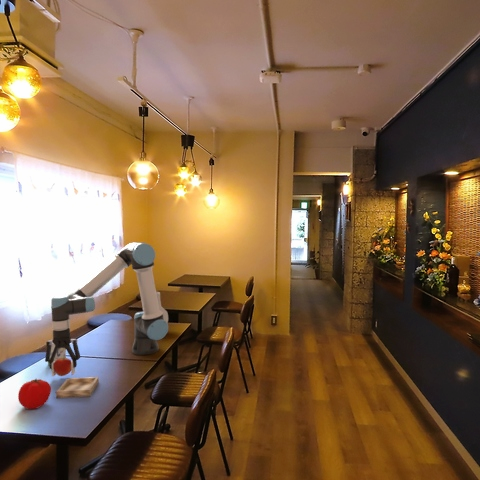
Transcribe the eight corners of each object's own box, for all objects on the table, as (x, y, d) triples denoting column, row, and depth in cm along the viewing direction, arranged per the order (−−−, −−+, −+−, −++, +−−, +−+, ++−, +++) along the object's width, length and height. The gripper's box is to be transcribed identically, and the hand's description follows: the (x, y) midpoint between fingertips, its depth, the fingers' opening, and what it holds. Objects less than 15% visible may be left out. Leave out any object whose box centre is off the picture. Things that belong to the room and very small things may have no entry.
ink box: (58, 359, 211) (57, 338, 211) (66, 359, 210) (65, 338, 210) (47, 365, 203) (46, 343, 202) (56, 365, 202) (55, 343, 201)
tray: (98, 383, 179) (98, 376, 178) (89, 396, 165) (89, 389, 165) (67, 384, 177) (67, 378, 177) (56, 398, 163) (55, 391, 163)
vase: (165, 337, 249) (164, 295, 248) (140, 337, 250) (139, 295, 248) (170, 330, 266) (169, 290, 265) (147, 330, 266) (146, 290, 265)
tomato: (16, 415, 149) (15, 387, 149) (20, 403, 160) (19, 376, 159) (50, 409, 154) (49, 382, 153) (52, 397, 164) (51, 372, 164)
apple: (51, 375, 185) (50, 355, 184) (68, 370, 191) (67, 350, 190) (58, 380, 179) (57, 359, 179) (75, 374, 185) (74, 354, 185)
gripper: (86, 325, 188) (88, 370, 190) (41, 327, 186) (44, 372, 188) (81, 329, 181) (83, 376, 182) (35, 331, 179) (37, 379, 180)
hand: (63, 374), depth 185 cm, fingers closed on apple, 8 cm apart
